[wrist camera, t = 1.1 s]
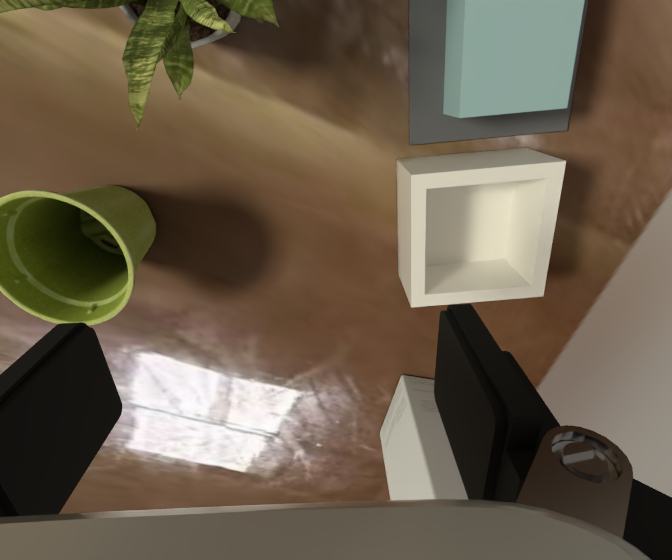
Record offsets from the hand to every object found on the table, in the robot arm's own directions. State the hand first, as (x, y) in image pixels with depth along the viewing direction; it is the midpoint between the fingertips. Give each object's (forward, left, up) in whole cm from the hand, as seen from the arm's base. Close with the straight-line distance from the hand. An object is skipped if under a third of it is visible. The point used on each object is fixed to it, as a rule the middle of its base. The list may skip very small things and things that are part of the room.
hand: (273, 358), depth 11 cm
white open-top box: (+4, +12, -23) cm, 26 cm away
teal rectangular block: (-10, +14, -23) cm, 29 cm away
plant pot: (+2, -16, -23) cm, 28 cm away
